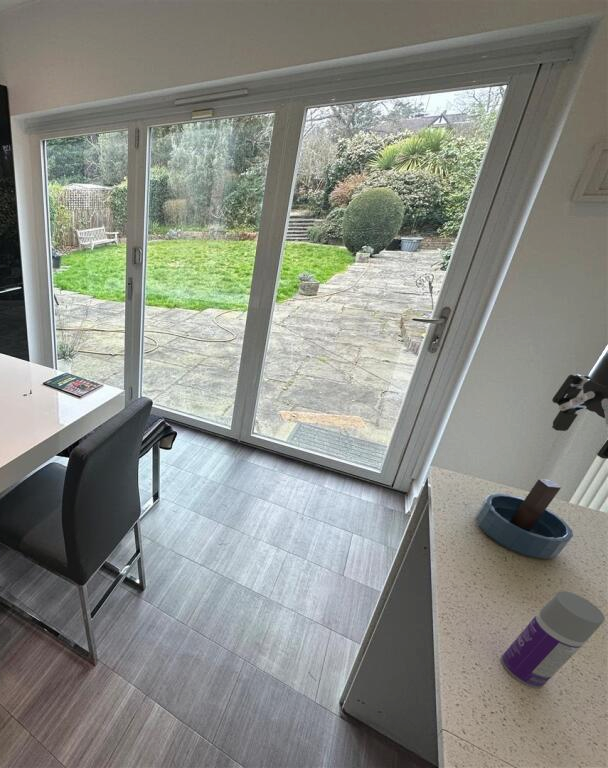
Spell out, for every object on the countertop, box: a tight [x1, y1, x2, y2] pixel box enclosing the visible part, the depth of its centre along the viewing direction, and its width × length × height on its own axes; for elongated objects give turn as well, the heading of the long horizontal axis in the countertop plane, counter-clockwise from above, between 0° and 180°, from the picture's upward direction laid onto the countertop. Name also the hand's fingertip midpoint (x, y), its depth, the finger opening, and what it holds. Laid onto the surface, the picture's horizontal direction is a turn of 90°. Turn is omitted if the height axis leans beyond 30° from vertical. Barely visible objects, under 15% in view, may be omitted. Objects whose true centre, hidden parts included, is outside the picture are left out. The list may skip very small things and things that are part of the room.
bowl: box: [475, 492, 574, 560], centre depth 82 cm, size 13×13×6 cm
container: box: [500, 590, 606, 689], centre depth 57 cm, size 5×5×15 cm
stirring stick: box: [510, 478, 562, 532], centre depth 80 cm, size 2×2×13 cm
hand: (580, 442), depth 73 cm, fingers open, 8 cm apart
